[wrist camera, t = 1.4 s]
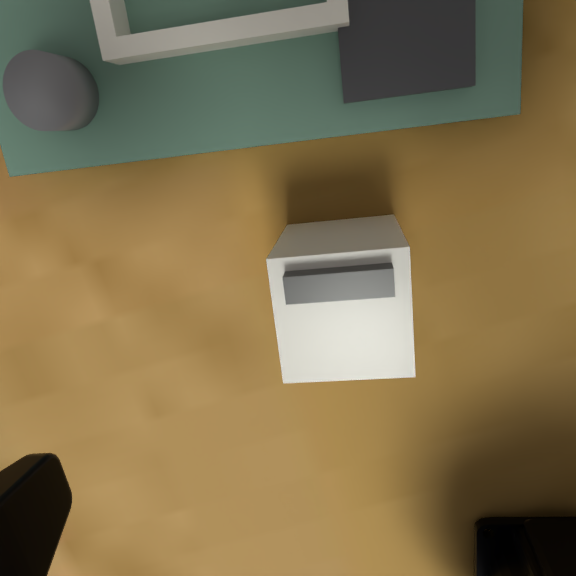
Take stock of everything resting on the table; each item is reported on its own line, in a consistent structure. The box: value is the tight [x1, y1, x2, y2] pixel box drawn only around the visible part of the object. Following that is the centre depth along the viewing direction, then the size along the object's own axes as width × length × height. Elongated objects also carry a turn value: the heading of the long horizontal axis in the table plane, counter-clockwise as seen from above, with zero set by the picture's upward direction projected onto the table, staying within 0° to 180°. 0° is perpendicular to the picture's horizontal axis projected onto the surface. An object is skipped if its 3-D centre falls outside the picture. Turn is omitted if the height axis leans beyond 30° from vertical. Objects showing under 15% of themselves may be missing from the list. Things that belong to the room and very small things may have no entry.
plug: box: [266, 214, 415, 383], centre depth 16 cm, size 4×4×6 cm
